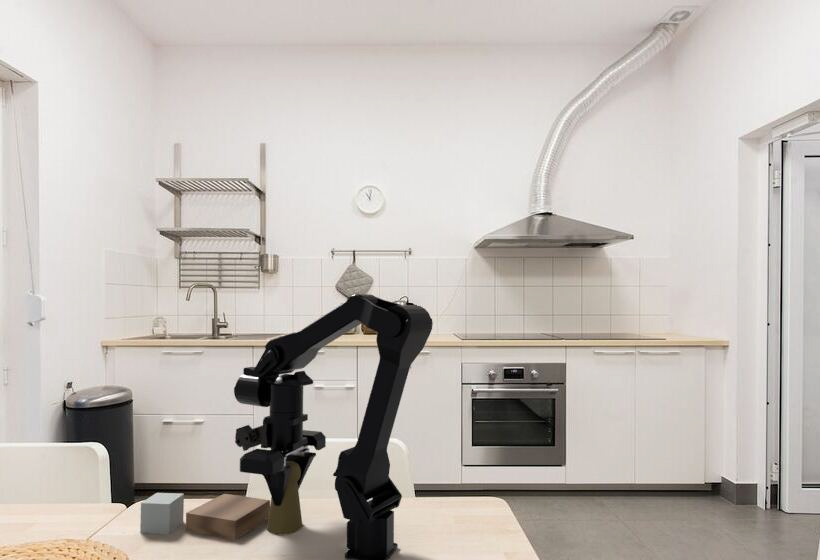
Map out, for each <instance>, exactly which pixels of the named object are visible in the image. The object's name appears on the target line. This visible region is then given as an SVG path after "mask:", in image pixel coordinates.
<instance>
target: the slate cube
mask: <svg viewBox="0 0 820 560" xmlns="http://www.w3.org/2000/svg"><path fill="white" fill-rule="evenodd" d="M184 500H185V494H184V493H171V492H156V493H154V494H152V495H151V496H150V497H148V498H147V499H145V500H143V501H141V503H140V531H139V532H140V533H141V534H162V535H163V534H166V535H167V534H168V535H169V534H171V533H173V531H174V530H175V529H177V528H178V527H179V526H180V525H182V524H183V523H184V513H185V512H184V507H185V505H184V503H185V501H184Z"/></svg>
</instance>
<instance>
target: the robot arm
mask: <svg viewBox="0 0 820 560" xmlns="http://www.w3.org/2000/svg"><path fill="white" fill-rule="evenodd" d="M361 324H363V325H364V326H365V327H366V328H367V329H370V330H372V331H374V332H375V333H376V339H375V340H376V346H377V351H378V355H379V361H378V365H377V368H376V372H375V376H374V380H373V383H372V387H371V391H370V393H369V397H368V400H367V401H368V402H367V405H366V408H365V412H364V416H363V418H362V419H363V420H362V424H361V426H360V430H359V434H358V438H357V441H356V444H355V446H352V447H350V448H347V449H344V450H341V451H340V453H339V455H338V459H337V467H336V469H335V471H334V472H333V474H332V476H333V477H335V480H334V490H335V491H336V493H337V498H338V501H339V505H340V508H341V513H342V517H343V518H344V519H346V520H348V521H347V522H346V548H347V551H346V552H345V553H344V558H345V559H349V560H389V558H390V557H391V556H392V554H393V553H394V552H395V551H396V550H397V549H398V546H399V544H398V543H397V542H394V541H395V511H394V509H397V508H399V506H400V504H401V500H402V497H403V495H402V493H401V492H400V490H399V489H398V488H397V485H396V484H395V483H394V482H393V480H392V479H391V478H390V469H391V468H390V467H391V463H390V459H389V453H388V446H389V442H390V438H391V436H392V431H393V428H394V425H395V421H396V417H397V414H398V410H399V408H400V407H399V406H400V403H401V400H402V396H403V394H404V393H403V392H404V388H405V385H406V382H407V379H408V375H409V371H410V368H411V366H412V364H413V363H414V362H415V360H416V358H417V357H418V356H419V355H420V354H421V352H422V351H423V350H424V348H425V345H426V343H427V341H428V339H429V337H430V334H431V333H432V330H433V319H432V318H431V315H430V313H429V311H427V309H426V308H424V307H423V306H421V305H416V304H415V305H412V304H409V305H405V304H404V305H403V304H399V303H396V302H393V301H389V300H386V299H382V298H380V297H377V296H375V295H373V294H364V293H360V294H359V293H355V294H353V295H351V296H349V297H348V298H347V299H346V301H344V302H342V303H340V304H339V305H337V306H336V307H334V308H333V309H332V310H330V311H329V312H327V313H325V314H324V315H322V316H320V317H319V318H318V319H316V320H315V321H313V322H311V323H310V324H308V325H307V326H305V327H304V328H302V329H299V330H298V331H294V332H290V333H287V334H283V335H280V336H277V337H275V338H273V339H270V340H269V341H267V342H266V344H265V346H264V352H263V353H262V355H261V357H260V358H259V360H258V362H257V364H256V365H255V366H248V367H247V366H246V367H243V374H242V375H240V376H239V377H238V379H237V380H236V384H235V386H234V388H233V394H234V398H235V399H236V401H237V403H239V404H242V405H249V406H255V407H263V408H268V407H269V415H268V416H264V417H263V420H262V425H259V426H256V427H254V428H252V427H251V426H250V424H247V425H244V426H241V427H238V428H236V429H235V435H234V437H235V440H234V441H235V445H236V446H237V447H239V448H241V447H242V449H243V450H242V451H243V452H245V451H248V450H249V449H251V448H254V449H253V450H250V451H248V452H246V453H244V454H243V455H242V456H241V457H240V458H239V472H240V473H246V474H255V475H262V476H263V478H264V479H265V480H264V481H265V482H266V484H267V488H268V490H269V494H270V497H272V500H273V503H274V505H275V506H280V505H281V503H282V500H283V497H284V494H285V490H286V486H287V483H288V479H289V476H290V472H291V468H292V467H290V466H286V461H291V462H295V463H297V464H298V465H299V466H300V470H301V475H300V479H299V480H298V482H297V483H298V491H300V487H301V485H302V484H303V481H304V478H305V477H306V474H307V472H308V470H309V468H310V466H311V464H312V462H313V460H314V458H315V457H317V453H316V452H311V451H310V448H309V446H311V447H314V449H315V450H316V451H320V450H322V449H325V448H326V446H327V445H326V443H327V442H326V439H327V436H326V435H325V434H324V433H323V432H322V431H318V430H317V431H316V430H306V429H304V427H303V426H304V422H306V421H308V419H309V418H308V417H309V414H306V413H304V387H305V386H309V385H313V384H314V380H313V379H312V378H311V377H310V376H309V375H308V374H307V373H306V371H305V370H302V369H304V368H306V367H307V366H308V365H309V364H310V363H311V362H312V361H313V360H315V359H316V358H317V355H318V352H319V351H320V350H321V349H322V348H324V347H325V346H328V345H329V344H330V343H332V342H334V341H335V340H337V339H339V338H340V337H342V336H343V335H346V334H347V333H348V332H350V331H351V330H353V329H355V328H356V327H358V326H360V325H361ZM295 370H299V371H295ZM293 372H294V373H293ZM291 373H293V374H291ZM257 446H260V448H255V447H257Z"/></svg>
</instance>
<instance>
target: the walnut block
mask: <svg viewBox="0 0 820 560" xmlns="http://www.w3.org/2000/svg"><path fill="white" fill-rule="evenodd" d="M270 504H271V499H266V498H257V497H251V496H250V497H249V496H243V495H237V494H231V493H223V494H221V495H219V496H217V497H215V498H212V499H211V500H209V501H207V502H205V503H203V504H201V505H199V506H196V507H195V508H193V509H191V510H189V511H187V512H186V513H185V532H191V533H196V534H202V535H207V536H213V537H218V538H224V539H225V538H226V539H231V540H237V539H238V538H240V537H242V535H245V534H246V533H248V532H249V531H251V530H253V529H254V528H255V527H256V526H258V525H260V524H261V523H264V521H266V520H268V518H269V511H270Z"/></svg>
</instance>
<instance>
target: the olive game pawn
mask: <svg viewBox="0 0 820 560" xmlns="http://www.w3.org/2000/svg"><path fill="white" fill-rule="evenodd" d="M286 466H290V467H292V468H291V472H290V476H289V479H288V483H287V486H286V490H285V494H284V497H283V500H282V503H281V505H280V506H275V505H274V503H273V500H272V497H271V496H270V497H271V498H270V511H269V518H267V525H266V530H267V532H268V533H270V534H272V535H290V534H294V533H297V532H299V531H300V530H301V529H303V527H304V526H303V519H302V511H301V502H300V501H301V500H300V492H299V490H298V483H297V482H298V480H299V479H300V475H301V470H300V466H299V465H298V464H297V463H295V462H291V461H286Z"/></svg>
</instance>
